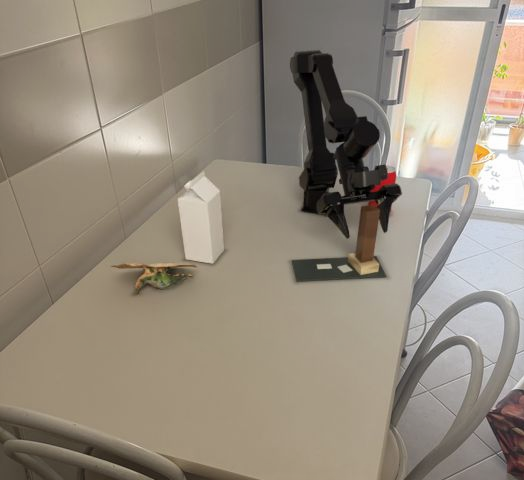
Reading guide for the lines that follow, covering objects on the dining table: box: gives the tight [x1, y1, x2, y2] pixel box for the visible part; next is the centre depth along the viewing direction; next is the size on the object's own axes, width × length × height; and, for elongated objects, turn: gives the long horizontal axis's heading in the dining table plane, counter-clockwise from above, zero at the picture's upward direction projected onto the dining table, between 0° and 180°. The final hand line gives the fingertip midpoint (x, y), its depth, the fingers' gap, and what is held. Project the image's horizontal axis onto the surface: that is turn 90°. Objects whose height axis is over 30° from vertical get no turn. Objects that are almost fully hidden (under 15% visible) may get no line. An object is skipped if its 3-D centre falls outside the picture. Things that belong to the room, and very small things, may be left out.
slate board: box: [291, 255, 387, 283], centre depth 112 cm, size 20×9×1 cm, turn 94°
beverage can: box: [367, 164, 397, 213], centre depth 131 cm, size 6×6×12 cm
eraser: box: [348, 204, 380, 275], centre depth 107 cm, size 6×4×14 cm
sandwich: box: [110, 262, 198, 295], centre depth 106 cm, size 18×14×8 cm
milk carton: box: [177, 170, 225, 265], centre depth 112 cm, size 7×7×19 cm
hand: (367, 235), depth 110 cm, fingers open, 9 cm apart
